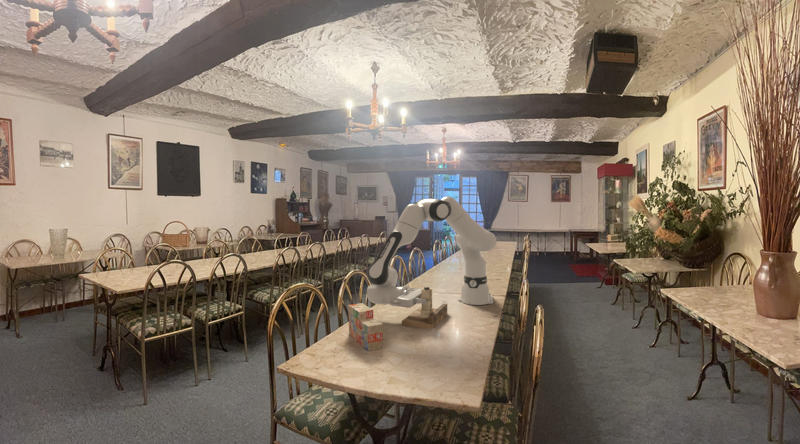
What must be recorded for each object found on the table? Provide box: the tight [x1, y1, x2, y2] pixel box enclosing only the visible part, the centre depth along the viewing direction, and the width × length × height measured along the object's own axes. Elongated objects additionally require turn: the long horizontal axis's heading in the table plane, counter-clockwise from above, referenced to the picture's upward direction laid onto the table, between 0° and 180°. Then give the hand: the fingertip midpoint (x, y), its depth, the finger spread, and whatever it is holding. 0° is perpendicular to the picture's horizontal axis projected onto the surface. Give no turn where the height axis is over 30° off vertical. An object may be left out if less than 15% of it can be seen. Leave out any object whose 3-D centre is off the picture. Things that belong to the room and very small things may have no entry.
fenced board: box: [401, 303, 448, 330], centre depth 171 cm, size 23×14×5 cm, turn 157°
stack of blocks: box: [347, 302, 384, 352], centre depth 146 cm, size 21×6×12 cm, turn 27°
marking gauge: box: [420, 286, 434, 318], centre depth 164 cm, size 7×4×13 cm, turn 157°
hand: (428, 299), depth 164 cm, fingers closed on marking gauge, 4 cm apart
